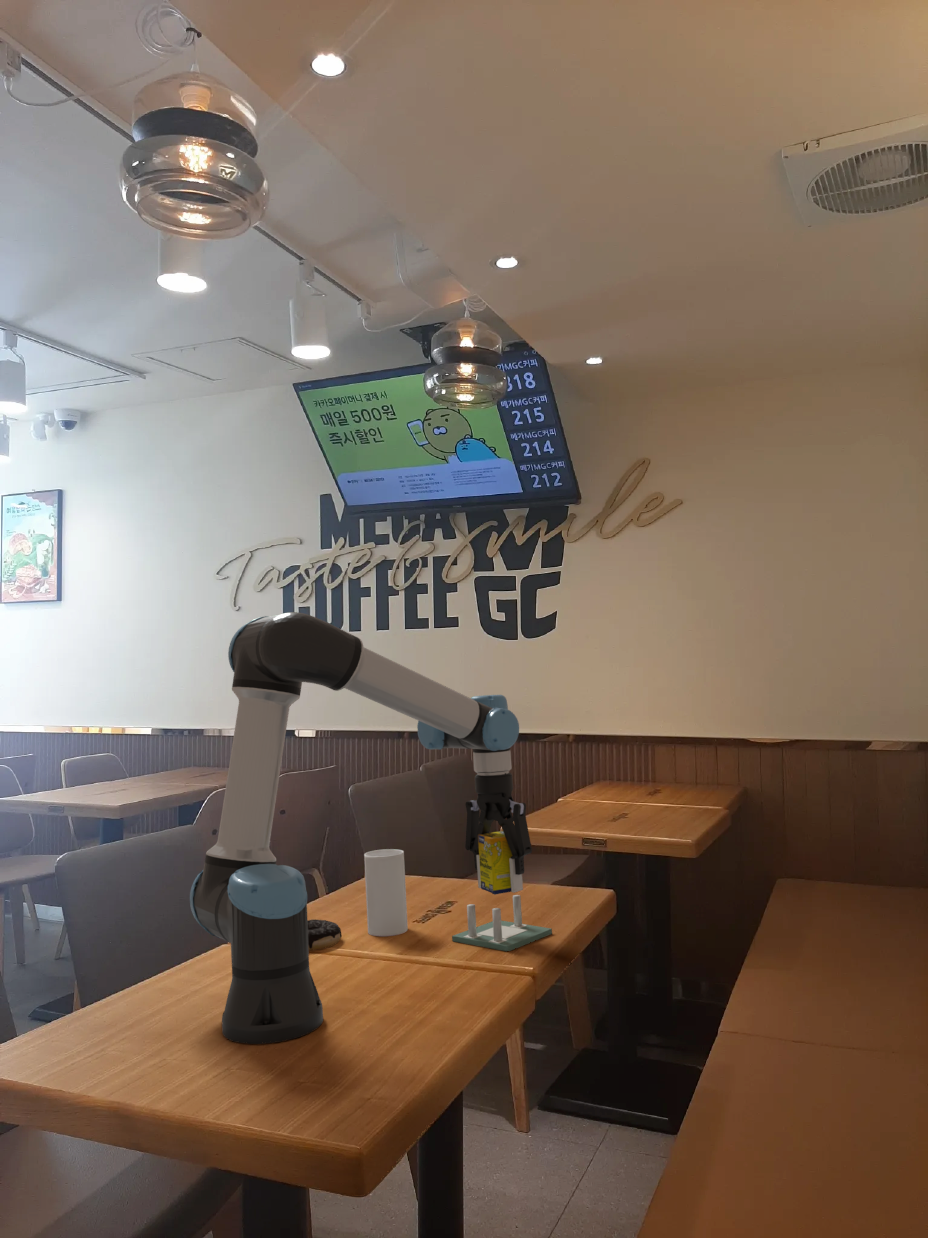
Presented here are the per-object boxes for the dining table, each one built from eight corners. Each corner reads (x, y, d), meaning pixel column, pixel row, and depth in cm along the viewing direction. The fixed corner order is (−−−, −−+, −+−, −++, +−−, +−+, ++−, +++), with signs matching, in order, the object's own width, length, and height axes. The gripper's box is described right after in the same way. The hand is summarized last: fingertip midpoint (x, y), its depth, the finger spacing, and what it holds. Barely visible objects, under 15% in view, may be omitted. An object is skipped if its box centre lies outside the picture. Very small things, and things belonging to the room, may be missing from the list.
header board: (508, 951, 179) (506, 913, 179) (452, 941, 188) (450, 905, 189) (552, 933, 190) (550, 898, 190) (497, 924, 199) (495, 890, 199)
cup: (410, 925, 202) (406, 848, 203) (404, 936, 194) (400, 856, 195) (372, 926, 203) (368, 850, 204) (364, 937, 195) (360, 857, 196)
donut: (274, 951, 189) (273, 931, 189) (303, 935, 200) (302, 915, 200) (325, 954, 185) (324, 933, 185) (351, 937, 196) (350, 917, 196)
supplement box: (480, 889, 191) (476, 834, 192) (506, 885, 194) (503, 830, 194) (493, 895, 186) (490, 838, 186) (520, 890, 188) (517, 834, 189)
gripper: (546, 771, 187) (553, 890, 186) (466, 769, 200) (473, 880, 199) (522, 776, 181) (530, 898, 180) (442, 773, 195) (449, 887, 193)
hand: (500, 888), depth 190 cm, fingers closed on supplement box, 8 cm apart
